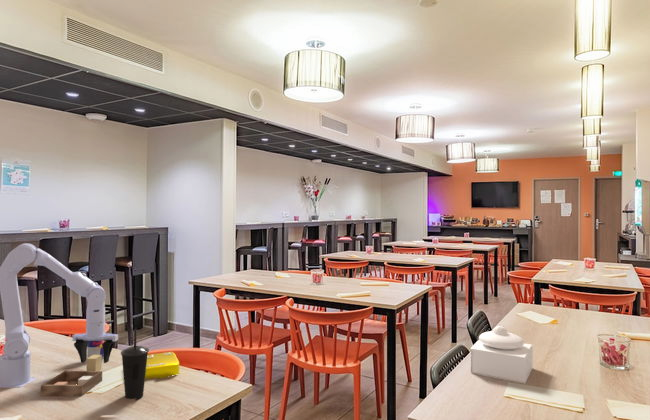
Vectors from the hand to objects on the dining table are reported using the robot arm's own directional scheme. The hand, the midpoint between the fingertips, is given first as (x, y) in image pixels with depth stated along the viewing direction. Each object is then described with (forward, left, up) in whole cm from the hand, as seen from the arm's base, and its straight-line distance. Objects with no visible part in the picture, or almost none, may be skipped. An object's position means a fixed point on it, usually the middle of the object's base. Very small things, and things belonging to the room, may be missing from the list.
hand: (95, 361), depth 150 cm
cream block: (+4, -12, -3) cm, 13 cm away
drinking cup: (+22, -20, -4) cm, 30 cm away
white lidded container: (+141, +5, -4) cm, 141 cm away
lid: (0, -1, -4) cm, 4 cm away
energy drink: (-6, +12, -4) cm, 14 cm away
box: (+1, -15, -3) cm, 15 cm away
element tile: (+20, +1, -4) cm, 20 cm away
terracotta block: (-1, -18, -3) cm, 18 cm away
